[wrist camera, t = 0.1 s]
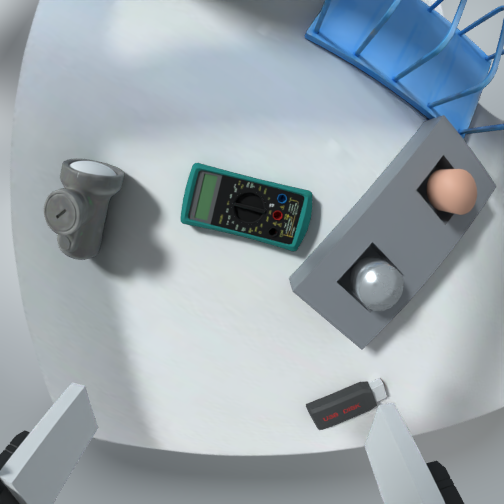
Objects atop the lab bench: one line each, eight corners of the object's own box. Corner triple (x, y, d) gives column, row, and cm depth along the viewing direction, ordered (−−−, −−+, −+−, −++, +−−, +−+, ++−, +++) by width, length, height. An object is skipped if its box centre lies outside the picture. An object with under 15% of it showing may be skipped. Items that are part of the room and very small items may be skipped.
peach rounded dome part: (441, 160, 31) (459, 159, 27) (464, 190, 32) (483, 192, 28) (419, 190, 32) (436, 191, 28) (443, 219, 33) (461, 224, 29)
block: (425, 121, 34) (443, 114, 29) (475, 184, 36) (496, 186, 31) (288, 278, 39) (292, 291, 34) (352, 332, 41) (362, 349, 36)
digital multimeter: (298, 249, 39) (301, 254, 36) (182, 220, 39) (176, 223, 36) (314, 192, 38) (318, 193, 35) (196, 162, 37) (191, 161, 34)
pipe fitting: (84, 152, 36) (40, 159, 26) (134, 169, 37) (99, 180, 28) (67, 232, 40) (27, 258, 30) (113, 251, 41) (80, 283, 31)
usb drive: (305, 402, 44) (307, 414, 41) (377, 371, 43) (383, 381, 40) (316, 423, 45) (318, 434, 42) (384, 394, 44) (389, 404, 41)
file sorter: (303, 38, 33) (323, -28, 18) (353, -32, 29) (381, -93, 14) (456, 143, 35) (530, 134, 20) (485, 62, 31) (546, 37, 16)
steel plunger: (371, 247, 34) (383, 255, 30) (397, 274, 34) (411, 285, 30) (341, 280, 35) (350, 291, 31) (369, 306, 35) (380, 319, 31)
